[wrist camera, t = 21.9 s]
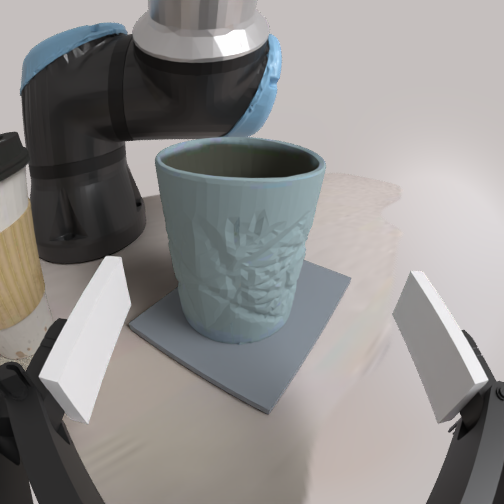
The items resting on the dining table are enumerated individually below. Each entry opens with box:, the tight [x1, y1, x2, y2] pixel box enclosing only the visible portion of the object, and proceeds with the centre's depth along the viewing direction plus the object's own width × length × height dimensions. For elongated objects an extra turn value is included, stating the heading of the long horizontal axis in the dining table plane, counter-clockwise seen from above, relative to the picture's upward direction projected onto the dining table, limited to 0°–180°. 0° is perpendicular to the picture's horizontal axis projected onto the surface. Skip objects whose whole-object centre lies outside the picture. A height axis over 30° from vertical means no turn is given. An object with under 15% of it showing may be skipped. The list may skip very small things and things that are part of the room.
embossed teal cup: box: [155, 137, 326, 345], centre depth 21 cm, size 10×10×12 cm
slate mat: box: [129, 260, 351, 415], centre depth 25 cm, size 12×16×1 cm
